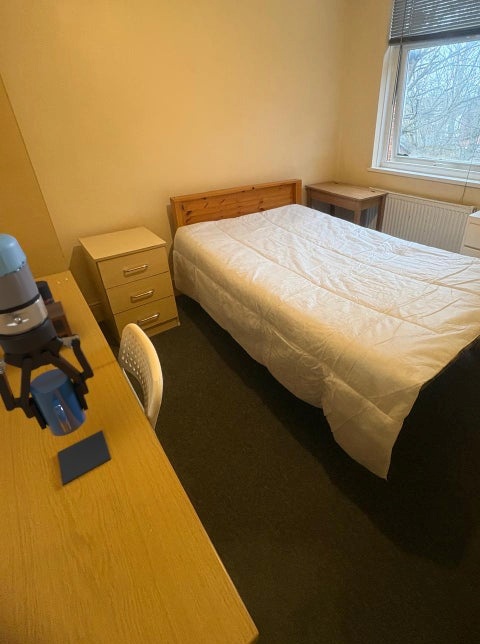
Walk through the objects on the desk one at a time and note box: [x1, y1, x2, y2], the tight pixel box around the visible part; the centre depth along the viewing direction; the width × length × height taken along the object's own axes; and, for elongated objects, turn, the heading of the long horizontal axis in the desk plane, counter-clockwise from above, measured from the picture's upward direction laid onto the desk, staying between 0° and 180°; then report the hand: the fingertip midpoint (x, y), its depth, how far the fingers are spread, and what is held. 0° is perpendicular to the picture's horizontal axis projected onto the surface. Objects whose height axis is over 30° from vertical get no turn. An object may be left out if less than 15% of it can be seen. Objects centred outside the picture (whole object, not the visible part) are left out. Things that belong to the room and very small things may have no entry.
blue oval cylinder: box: [30, 368, 87, 437], centre depth 63 cm, size 9×6×12 cm
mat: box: [57, 430, 112, 486], centre depth 72 cm, size 9×9×1 cm
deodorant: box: [35, 280, 56, 305], centre depth 113 cm, size 6×6×15 cm
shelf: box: [45, 300, 74, 337], centre depth 103 cm, size 10×10×12 cm
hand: (65, 414), depth 66 cm, fingers closed on blue oval cylinder, 6 cm apart
